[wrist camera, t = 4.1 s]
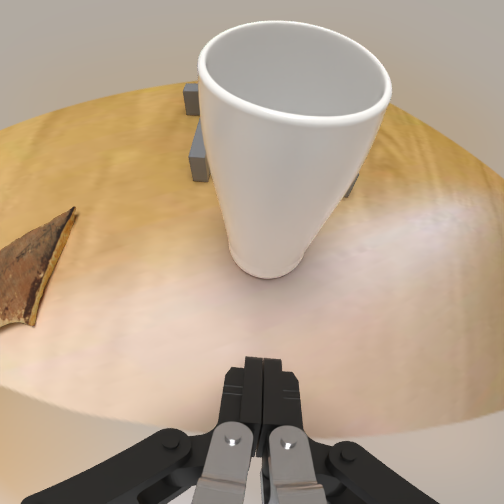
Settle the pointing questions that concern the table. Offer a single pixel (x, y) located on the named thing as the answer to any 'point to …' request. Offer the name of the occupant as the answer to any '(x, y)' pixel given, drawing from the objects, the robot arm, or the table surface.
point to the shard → (30, 268)
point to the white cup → (285, 133)
